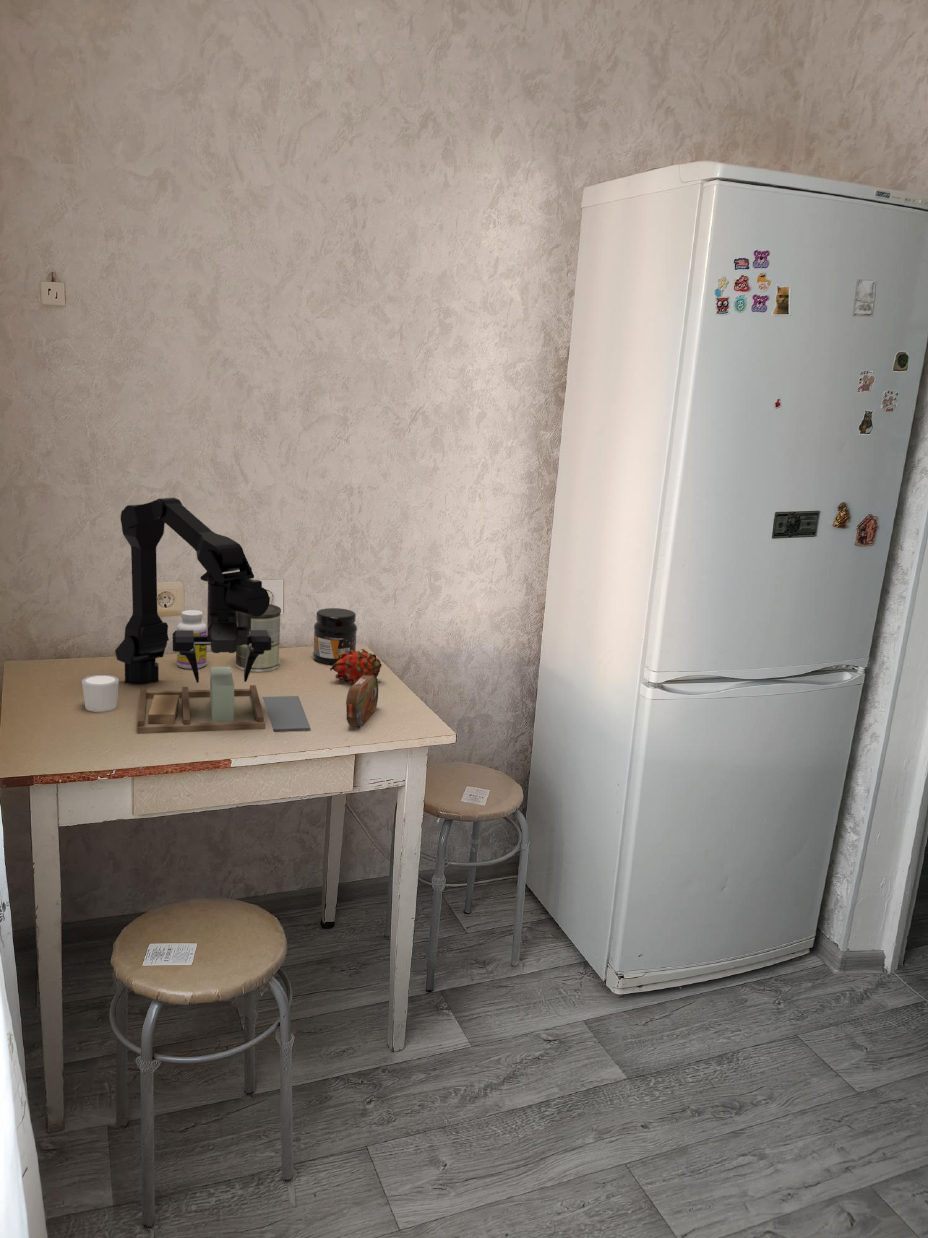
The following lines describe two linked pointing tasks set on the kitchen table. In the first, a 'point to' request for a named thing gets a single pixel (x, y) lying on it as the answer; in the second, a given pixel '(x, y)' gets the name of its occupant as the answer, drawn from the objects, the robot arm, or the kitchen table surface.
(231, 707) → the pale green block
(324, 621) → the supplement container
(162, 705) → the offcut short
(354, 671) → the dragon fruit
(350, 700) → the tin
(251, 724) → the rack
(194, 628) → the supplement bottle
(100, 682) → the white cup
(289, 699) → the mat
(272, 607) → the coffee can
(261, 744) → the kitchen table surface
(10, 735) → the kitchen table surface
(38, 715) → the kitchen table surface
